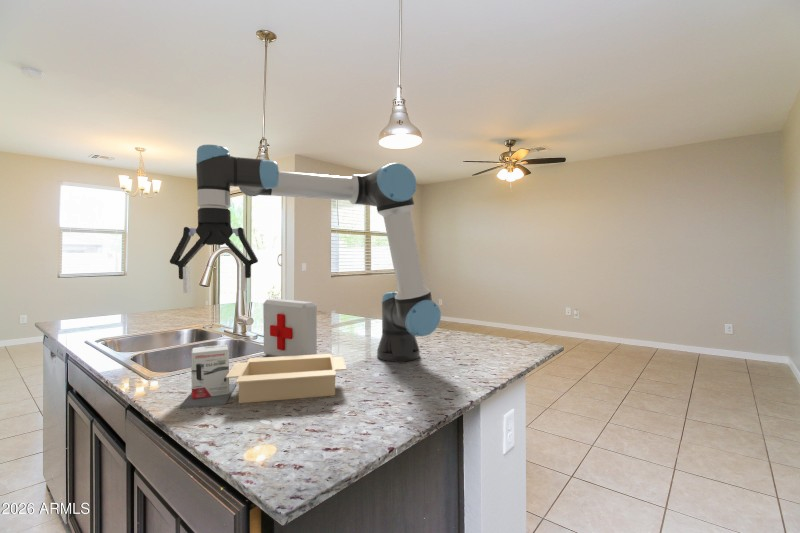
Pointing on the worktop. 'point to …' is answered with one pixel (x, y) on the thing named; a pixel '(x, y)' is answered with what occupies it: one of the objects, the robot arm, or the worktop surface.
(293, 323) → the bevelled white case
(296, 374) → the carton
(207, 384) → the ink box
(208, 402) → the mat
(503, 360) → the worktop surface
